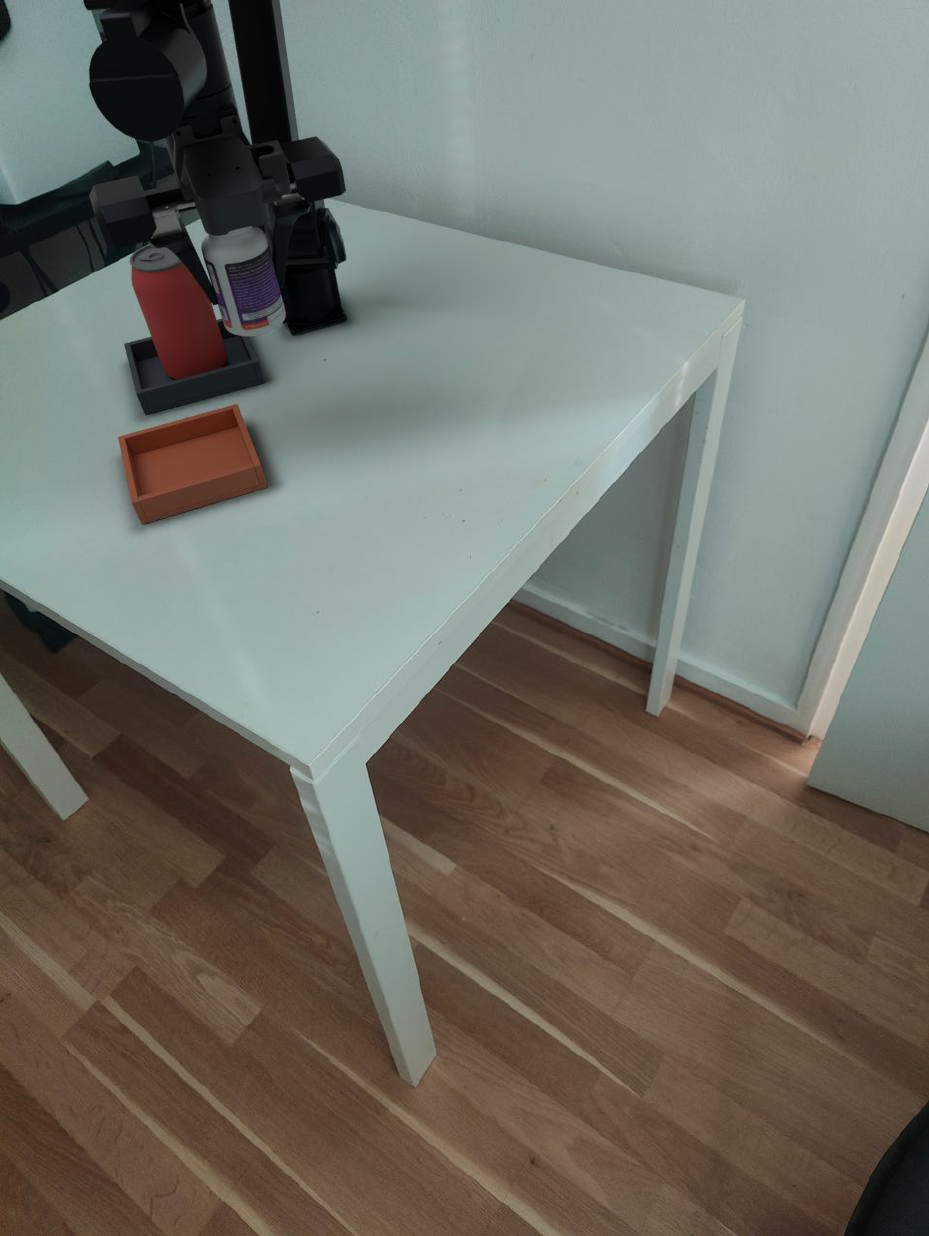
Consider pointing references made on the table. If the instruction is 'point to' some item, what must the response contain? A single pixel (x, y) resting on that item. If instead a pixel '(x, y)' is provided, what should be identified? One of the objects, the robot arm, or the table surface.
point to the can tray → (168, 393)
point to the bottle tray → (190, 463)
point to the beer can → (176, 314)
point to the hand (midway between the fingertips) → (247, 294)
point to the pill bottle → (244, 281)
